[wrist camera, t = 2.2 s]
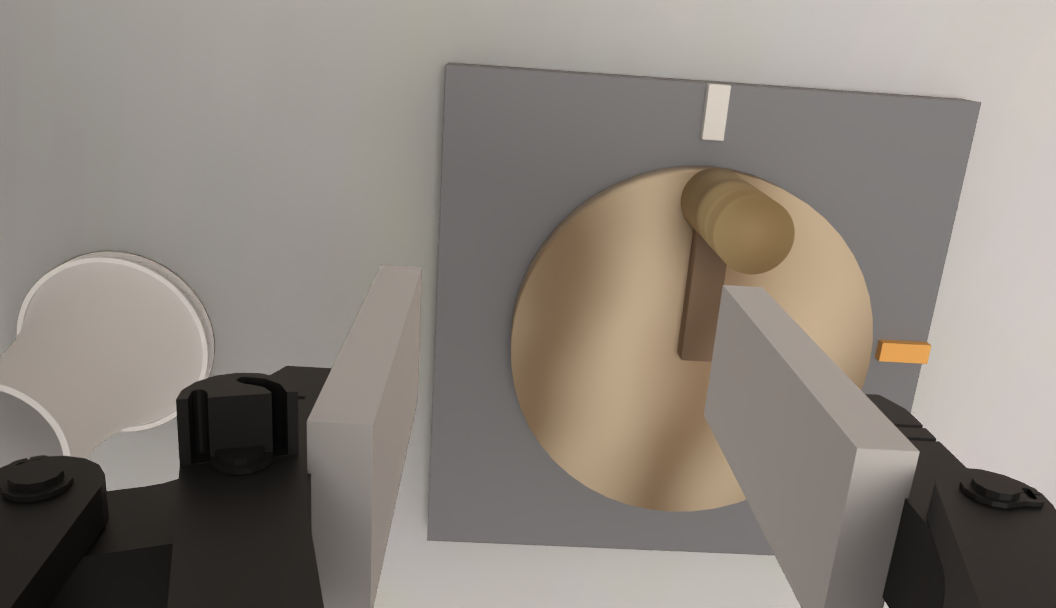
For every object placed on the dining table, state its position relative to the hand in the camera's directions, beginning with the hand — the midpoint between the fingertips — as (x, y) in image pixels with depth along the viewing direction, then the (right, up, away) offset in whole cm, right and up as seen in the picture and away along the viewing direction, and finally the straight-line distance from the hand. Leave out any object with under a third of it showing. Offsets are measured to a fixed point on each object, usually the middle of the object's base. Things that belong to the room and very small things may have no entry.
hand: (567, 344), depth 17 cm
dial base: (+5, 0, +20) cm, 21 cm away
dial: (+6, -1, +18) cm, 19 cm away
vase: (-18, -1, +20) cm, 26 cm away
